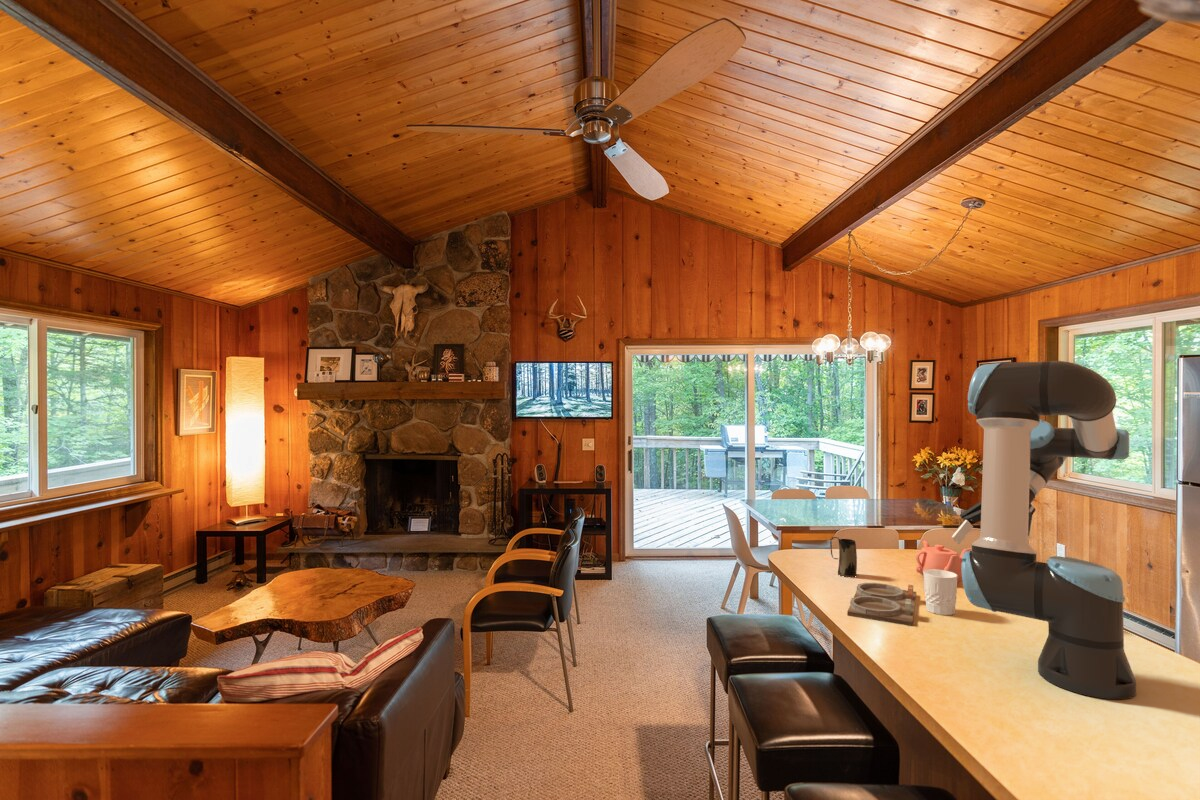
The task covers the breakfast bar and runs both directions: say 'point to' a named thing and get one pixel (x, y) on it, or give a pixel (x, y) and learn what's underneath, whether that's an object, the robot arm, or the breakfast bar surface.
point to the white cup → (940, 591)
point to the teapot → (939, 559)
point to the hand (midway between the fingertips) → (974, 546)
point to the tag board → (883, 603)
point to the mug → (846, 557)
